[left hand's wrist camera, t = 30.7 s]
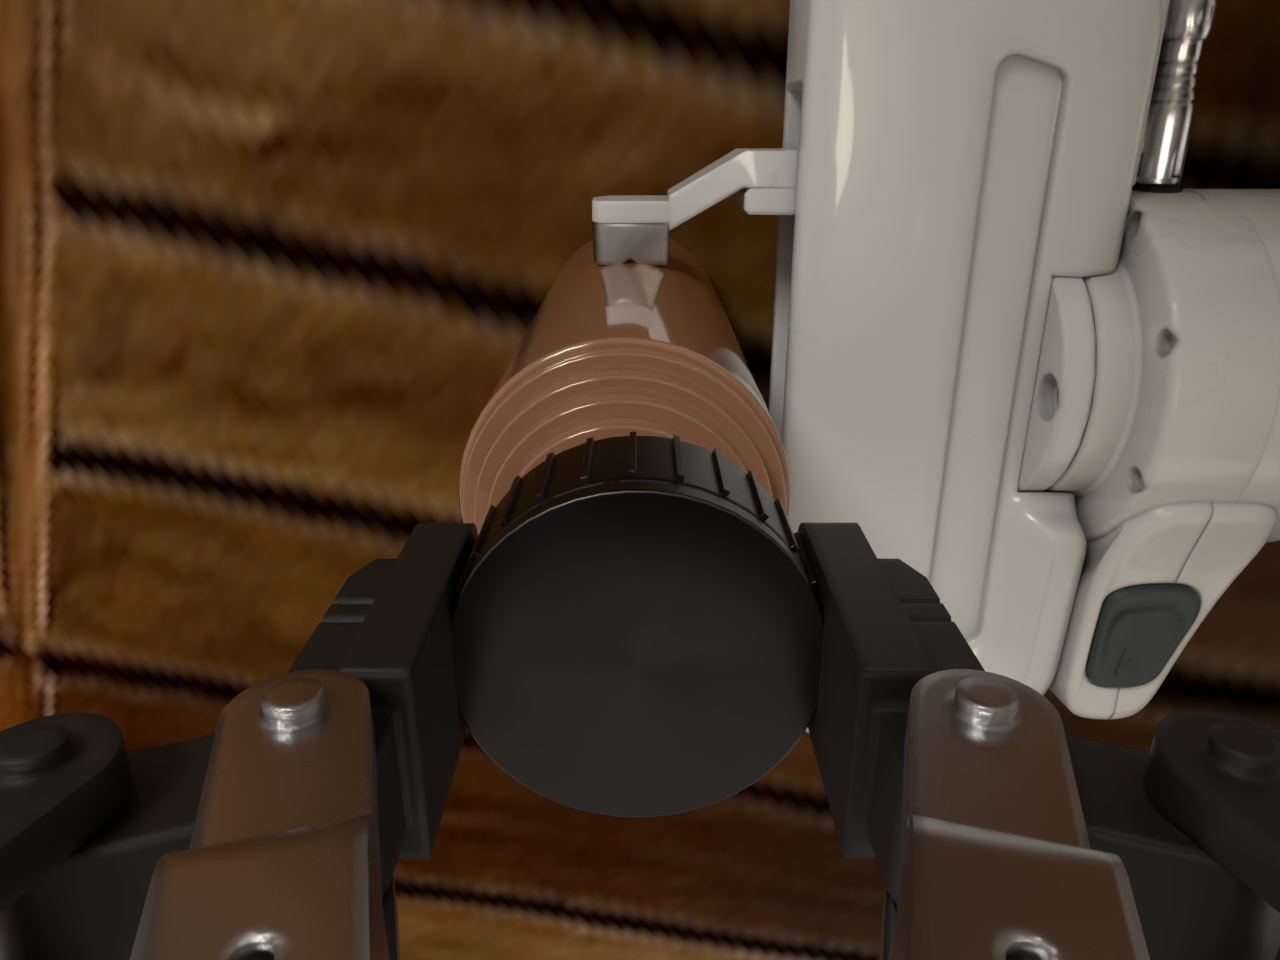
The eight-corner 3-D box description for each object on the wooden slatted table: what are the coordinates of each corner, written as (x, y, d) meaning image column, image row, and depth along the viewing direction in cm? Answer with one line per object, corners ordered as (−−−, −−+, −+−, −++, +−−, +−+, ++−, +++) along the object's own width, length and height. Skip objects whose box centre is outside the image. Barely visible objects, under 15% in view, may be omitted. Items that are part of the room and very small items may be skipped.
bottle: (655, 430, 30) (674, 867, 13) (515, 340, 29) (318, 679, 11) (753, 294, 29) (934, 576, 11) (608, 193, 28) (547, 323, 10)
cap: (847, 468, 11) (885, 530, 10) (755, 752, 13) (773, 849, 11) (499, 395, 11) (472, 446, 9) (448, 695, 13) (417, 787, 11)
